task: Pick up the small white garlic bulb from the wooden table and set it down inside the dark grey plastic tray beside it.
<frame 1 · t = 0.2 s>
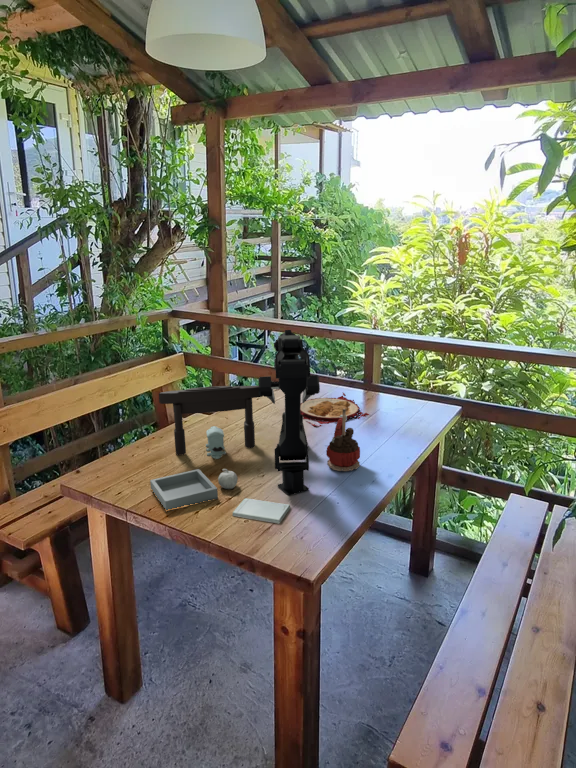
hand: (288, 402, 176), 15 cm above the table, tool tilted 30°, fingers open, 9 cm apart
garlic: (228, 487, 152), on the table
plate with food: (330, 413, 212), on the table
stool: (215, 449, 178), on the table
phone stand: (292, 448, 178), on the table
tray: (183, 494, 148), on the table
hard drive: (261, 514, 138), on the table
cake: (343, 467, 164), on the table
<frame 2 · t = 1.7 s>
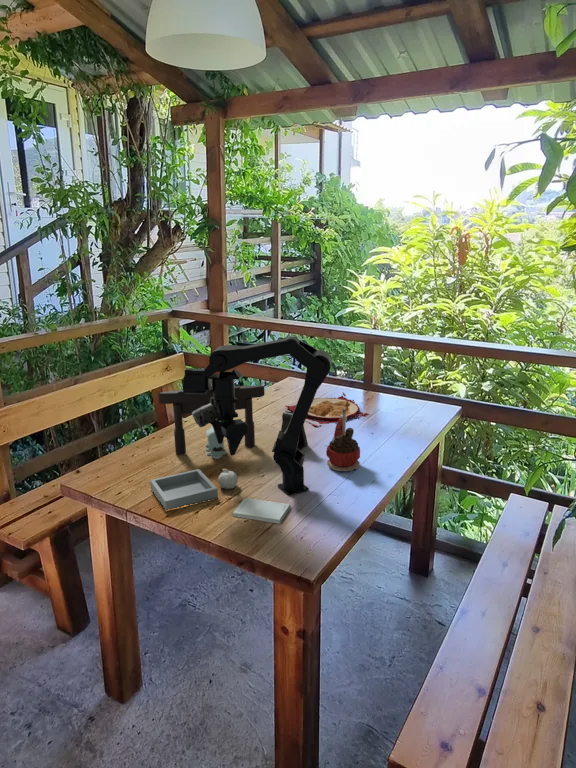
hand: (226, 449, 149), 11 cm above the table, tool pointing down, fingers open, 9 cm apart
nothing on the table moved.
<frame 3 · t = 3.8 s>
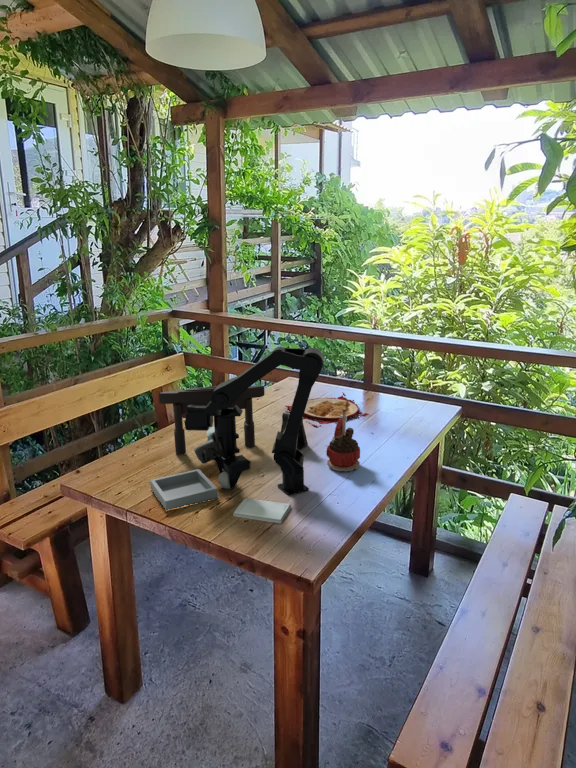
hand: (227, 483, 151), 1 cm above the table, tool pointing down, fingers closed on garlic, 6 cm apart
garlic: (228, 487, 152), on the table, touching gripper
everything else where it was.
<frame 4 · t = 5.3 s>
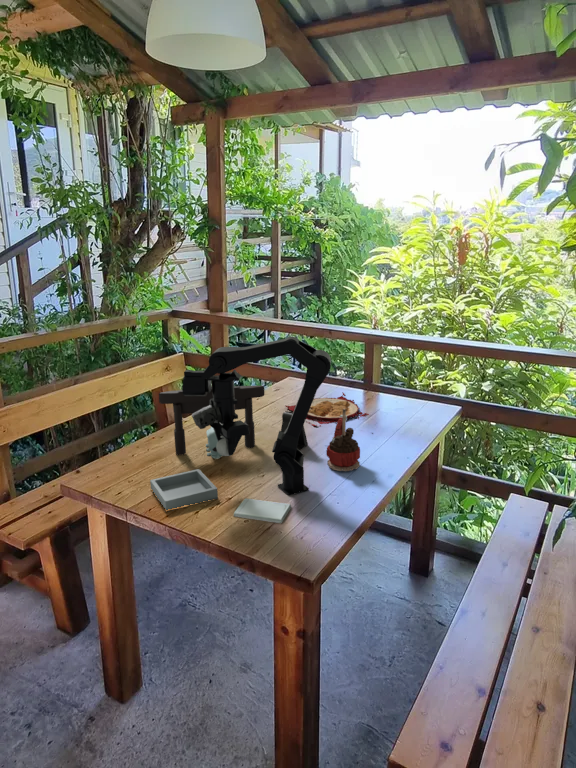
hand: (226, 450, 149), 11 cm above the table, tool pointing down, fingers closed on garlic, 6 cm apart
garlic: (226, 455, 149), point 9 cm above the table, touching gripper
everything else where it was.
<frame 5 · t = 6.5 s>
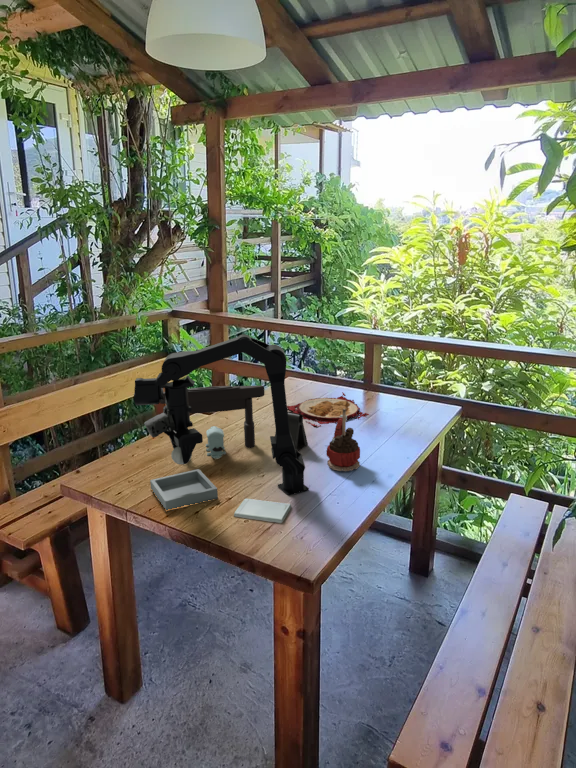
hand: (181, 459, 145), 10 cm above the table, tool pointing down, fingers closed on garlic, 6 cm apart
garlic: (182, 463, 145), point 9 cm above the table, touching gripper
everything else where it was.
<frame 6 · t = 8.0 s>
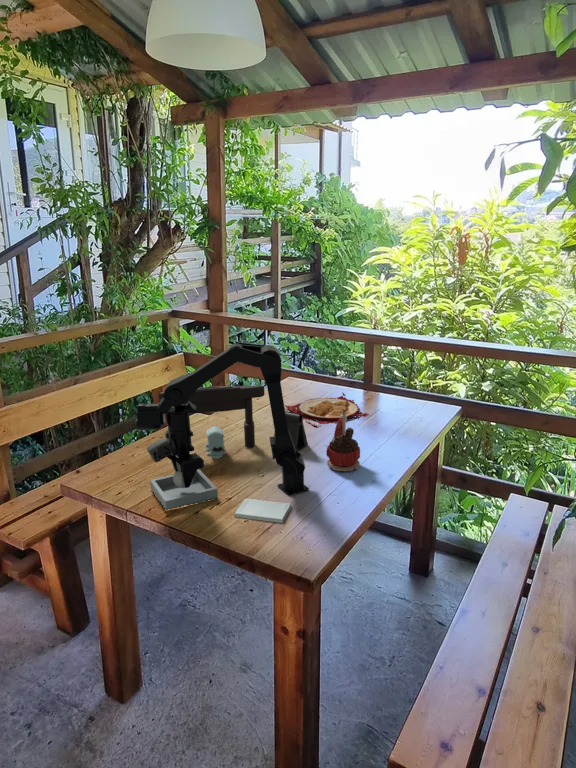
hand: (183, 482, 147), 3 cm above the table, tool pointing down, fingers closed on garlic, 6 cm apart
garlic: (183, 486, 147), point 2 cm above the table, touching gripper
everything else where it was.
when the fingers open (3 cm above the table, at t = 8.5 s): garlic drops 2 cm, resting on tray.
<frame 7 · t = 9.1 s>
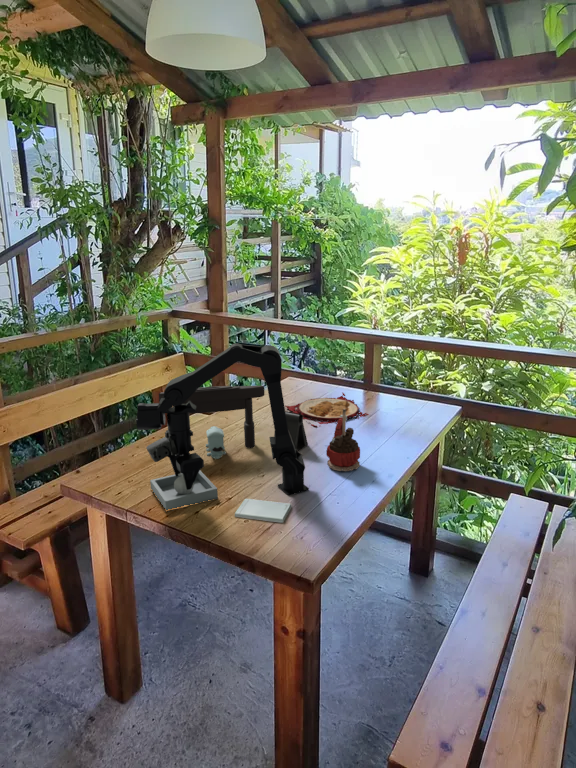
hand: (183, 482, 147), 3 cm above the table, tool pointing down, fingers open, 9 cm apart
garlic: (184, 493, 148), resting on tray
everything else where it was.
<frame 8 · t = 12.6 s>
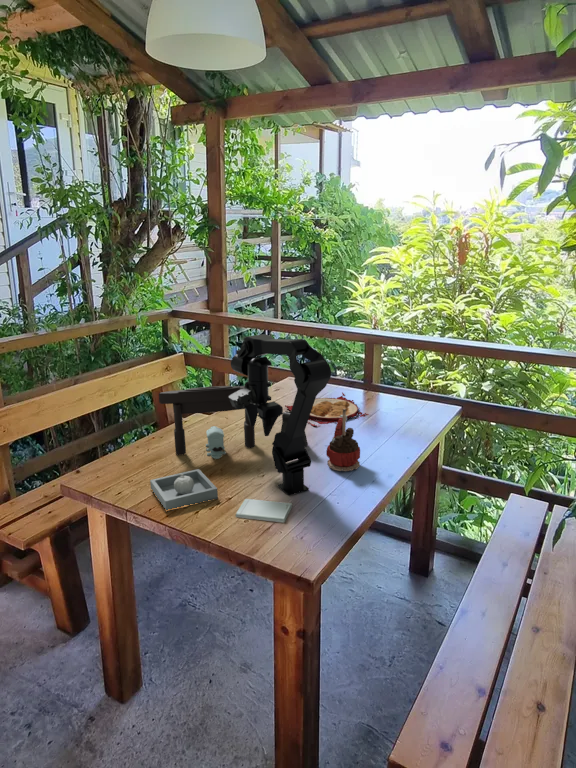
hand: (259, 430, 159), 12 cm above the table, tool pointing down, fingers open, 9 cm apart
nothing on the table moved.
at the end: garlic inside the target area on the tray (0.1 cm from its centre), point 0.3 cm above the tray's base; the gripper is holding nothing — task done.
